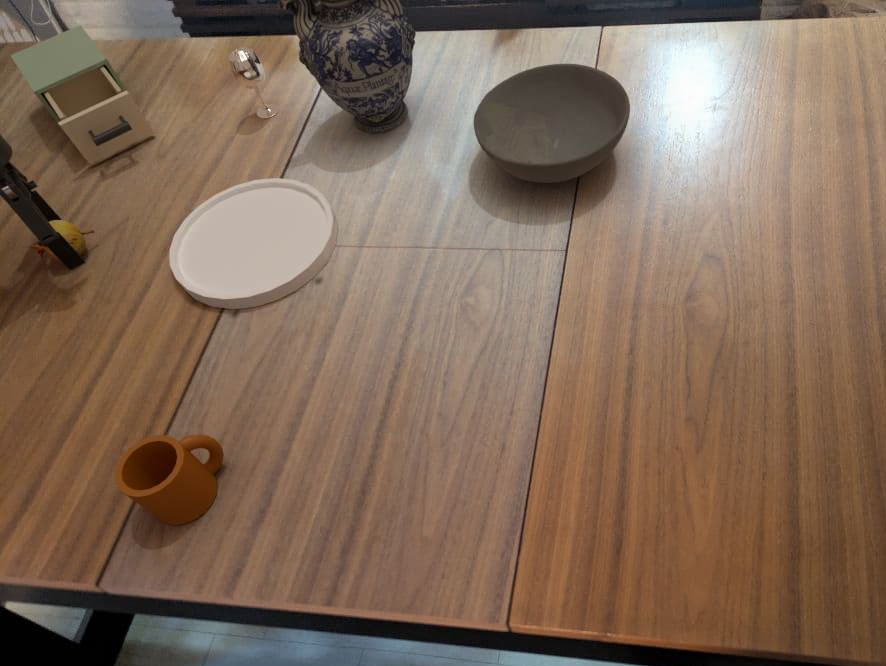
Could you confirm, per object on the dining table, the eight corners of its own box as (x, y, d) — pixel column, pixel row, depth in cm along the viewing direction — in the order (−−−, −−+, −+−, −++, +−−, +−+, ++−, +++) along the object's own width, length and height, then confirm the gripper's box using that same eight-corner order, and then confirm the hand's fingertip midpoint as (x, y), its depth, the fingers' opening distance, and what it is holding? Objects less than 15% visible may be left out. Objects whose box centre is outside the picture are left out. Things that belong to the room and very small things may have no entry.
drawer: (162, 143, 137) (136, 103, 130) (97, 176, 134) (66, 136, 126) (128, 98, 146) (101, 58, 139) (65, 127, 143) (35, 88, 135)
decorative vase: (330, 159, 132) (268, 9, 108) (323, 100, 141) (264, -49, 118) (442, 133, 133) (404, -21, 109) (427, 76, 142) (390, -76, 119)
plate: (262, 169, 132) (256, 159, 129) (371, 224, 121) (366, 213, 119) (143, 266, 121) (135, 256, 119) (251, 335, 111) (244, 325, 109)
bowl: (605, 221, 117) (605, 172, 108) (459, 195, 123) (448, 148, 115) (645, 121, 129) (647, 70, 121) (510, 102, 136) (504, 53, 127)
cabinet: (137, 106, 146) (106, 58, 137) (70, 139, 142) (33, 91, 133) (111, 72, 154) (80, 24, 145) (46, 102, 150) (10, 55, 141)
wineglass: (286, 112, 140) (260, 55, 130) (259, 124, 139) (232, 68, 129) (275, 98, 143) (249, 41, 133) (249, 110, 142) (221, 54, 132)
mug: (249, 487, 96) (217, 457, 89) (166, 538, 93) (126, 511, 86) (225, 442, 101) (193, 409, 93) (145, 488, 98) (105, 459, 90)
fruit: (79, 204, 122) (20, 225, 120) (78, 220, 117) (16, 242, 115) (103, 238, 127) (47, 259, 125) (103, 255, 122) (44, 277, 120)
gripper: (16, 168, 99) (109, 272, 117) (-25, 92, 110) (65, 197, 128) (-38, 194, 97) (65, 296, 115) (-74, 113, 109) (25, 217, 126)
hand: (65, 244), depth 122 cm, fingers open, 13 cm apart
